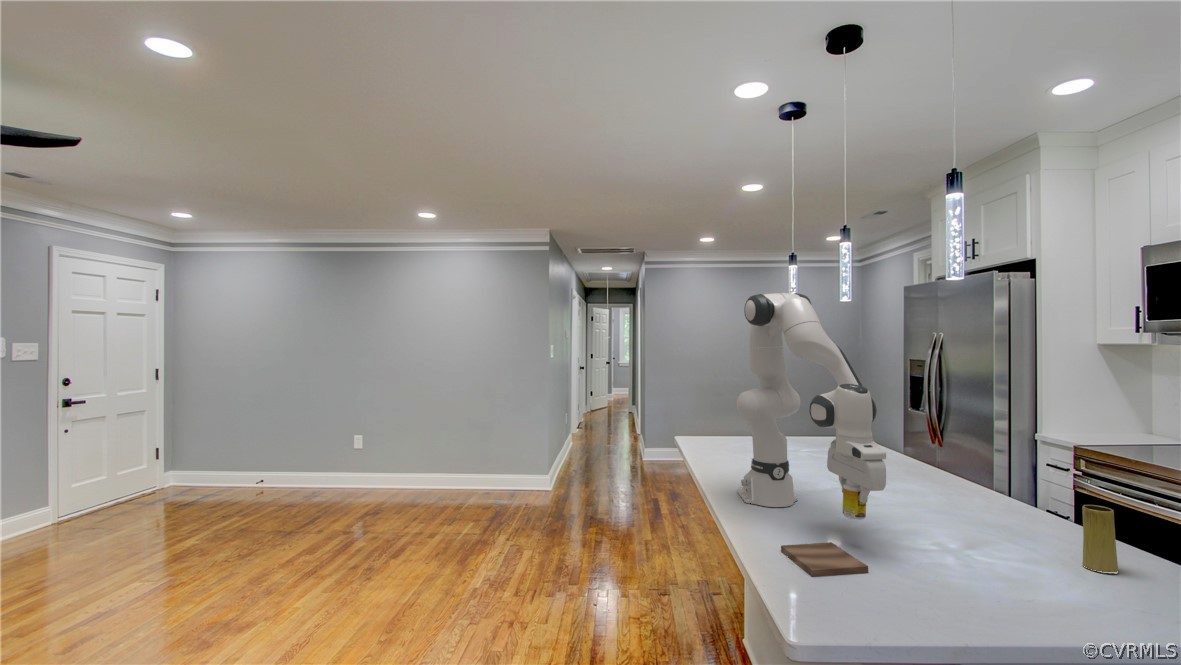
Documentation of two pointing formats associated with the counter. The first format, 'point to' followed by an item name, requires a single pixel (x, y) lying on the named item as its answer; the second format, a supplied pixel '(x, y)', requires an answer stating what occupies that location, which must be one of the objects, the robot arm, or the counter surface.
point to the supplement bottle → (853, 501)
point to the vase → (1099, 539)
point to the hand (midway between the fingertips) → (854, 497)
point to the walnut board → (823, 559)
